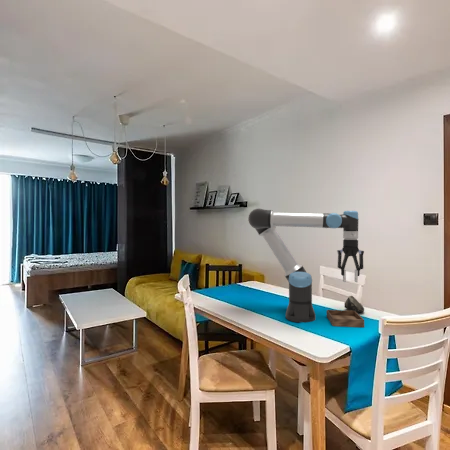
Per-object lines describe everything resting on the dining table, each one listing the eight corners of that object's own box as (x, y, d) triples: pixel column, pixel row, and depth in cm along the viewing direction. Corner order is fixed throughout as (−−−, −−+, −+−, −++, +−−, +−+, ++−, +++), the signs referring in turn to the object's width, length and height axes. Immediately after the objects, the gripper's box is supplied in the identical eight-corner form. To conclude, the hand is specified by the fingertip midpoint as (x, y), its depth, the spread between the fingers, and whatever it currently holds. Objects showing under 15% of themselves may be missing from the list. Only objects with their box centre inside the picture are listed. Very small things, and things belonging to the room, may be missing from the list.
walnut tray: (332, 326, 141) (332, 318, 141) (326, 316, 156) (326, 309, 156) (364, 327, 139) (364, 319, 139) (355, 317, 154) (354, 310, 154)
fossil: (368, 312, 158) (358, 296, 159) (352, 320, 160) (342, 303, 160) (362, 307, 169) (353, 291, 170) (347, 314, 170) (338, 298, 171)
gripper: (334, 239, 158) (334, 282, 158) (371, 239, 156) (370, 283, 156) (331, 238, 166) (330, 280, 166) (365, 239, 164) (365, 281, 164)
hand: (350, 281), depth 161 cm, fingers open, 5 cm apart
